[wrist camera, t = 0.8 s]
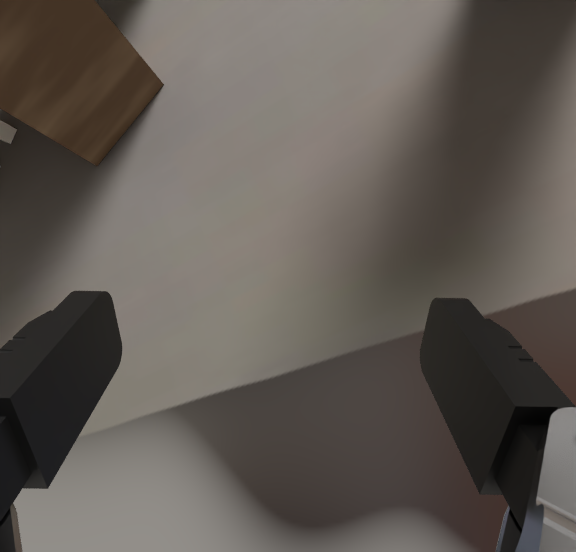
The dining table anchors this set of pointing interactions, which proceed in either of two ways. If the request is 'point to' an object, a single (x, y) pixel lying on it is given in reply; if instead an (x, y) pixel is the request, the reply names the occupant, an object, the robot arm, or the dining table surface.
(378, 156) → the dining table surface
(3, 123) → the domino
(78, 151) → the tall brown wooden block
